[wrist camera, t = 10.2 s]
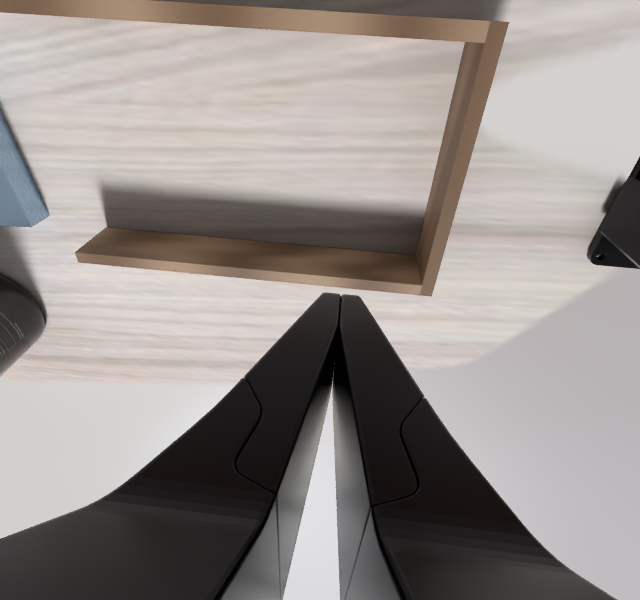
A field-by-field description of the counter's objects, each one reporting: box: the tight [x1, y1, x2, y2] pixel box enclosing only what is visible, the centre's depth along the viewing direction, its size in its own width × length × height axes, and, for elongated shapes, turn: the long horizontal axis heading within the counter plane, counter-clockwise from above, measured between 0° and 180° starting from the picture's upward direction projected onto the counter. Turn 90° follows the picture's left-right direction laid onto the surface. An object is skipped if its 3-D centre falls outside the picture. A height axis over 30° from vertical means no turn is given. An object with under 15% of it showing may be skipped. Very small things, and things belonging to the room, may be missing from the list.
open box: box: [0, 0, 509, 296], centre depth 17 cm, size 19×11×3 cm, turn 87°
